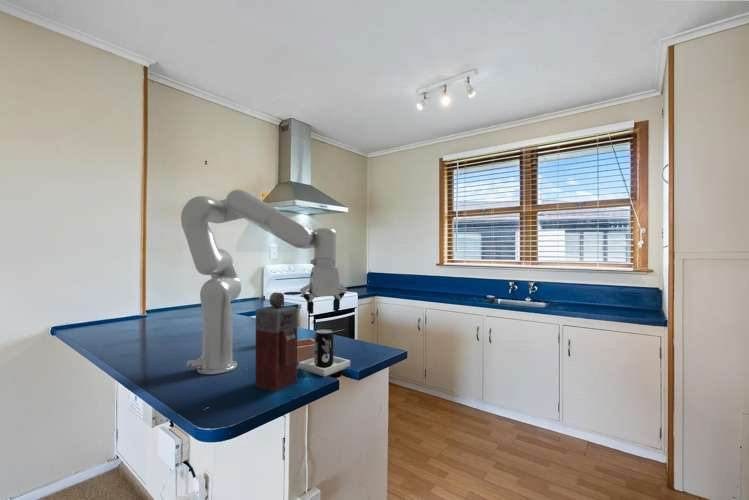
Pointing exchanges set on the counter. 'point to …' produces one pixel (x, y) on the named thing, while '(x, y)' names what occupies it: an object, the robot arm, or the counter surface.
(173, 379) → the counter surface
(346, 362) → the tray
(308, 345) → the holder
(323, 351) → the beverage can
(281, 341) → the red decanter
